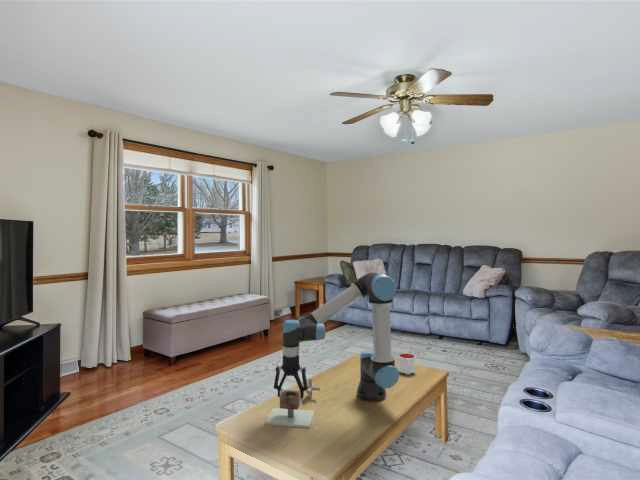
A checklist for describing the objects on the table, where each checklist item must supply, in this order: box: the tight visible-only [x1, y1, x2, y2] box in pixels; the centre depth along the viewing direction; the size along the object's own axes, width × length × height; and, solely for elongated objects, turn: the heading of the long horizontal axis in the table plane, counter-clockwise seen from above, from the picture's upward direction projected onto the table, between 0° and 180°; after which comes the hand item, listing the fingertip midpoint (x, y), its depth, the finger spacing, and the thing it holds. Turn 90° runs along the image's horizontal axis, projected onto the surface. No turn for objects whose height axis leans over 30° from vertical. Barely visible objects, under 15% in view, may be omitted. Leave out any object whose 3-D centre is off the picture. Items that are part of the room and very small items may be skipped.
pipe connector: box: [303, 377, 321, 399], centre depth 195 cm, size 10×10×10 cm
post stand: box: [264, 395, 316, 429], centre depth 173 cm, size 20×14×10 cm
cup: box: [397, 352, 416, 375], centre depth 232 cm, size 10×10×10 cm
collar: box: [279, 389, 300, 410], centre depth 173 cm, size 8×8×5 cm
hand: (290, 404), depth 173 cm, fingers closed on collar, 8 cm apart
